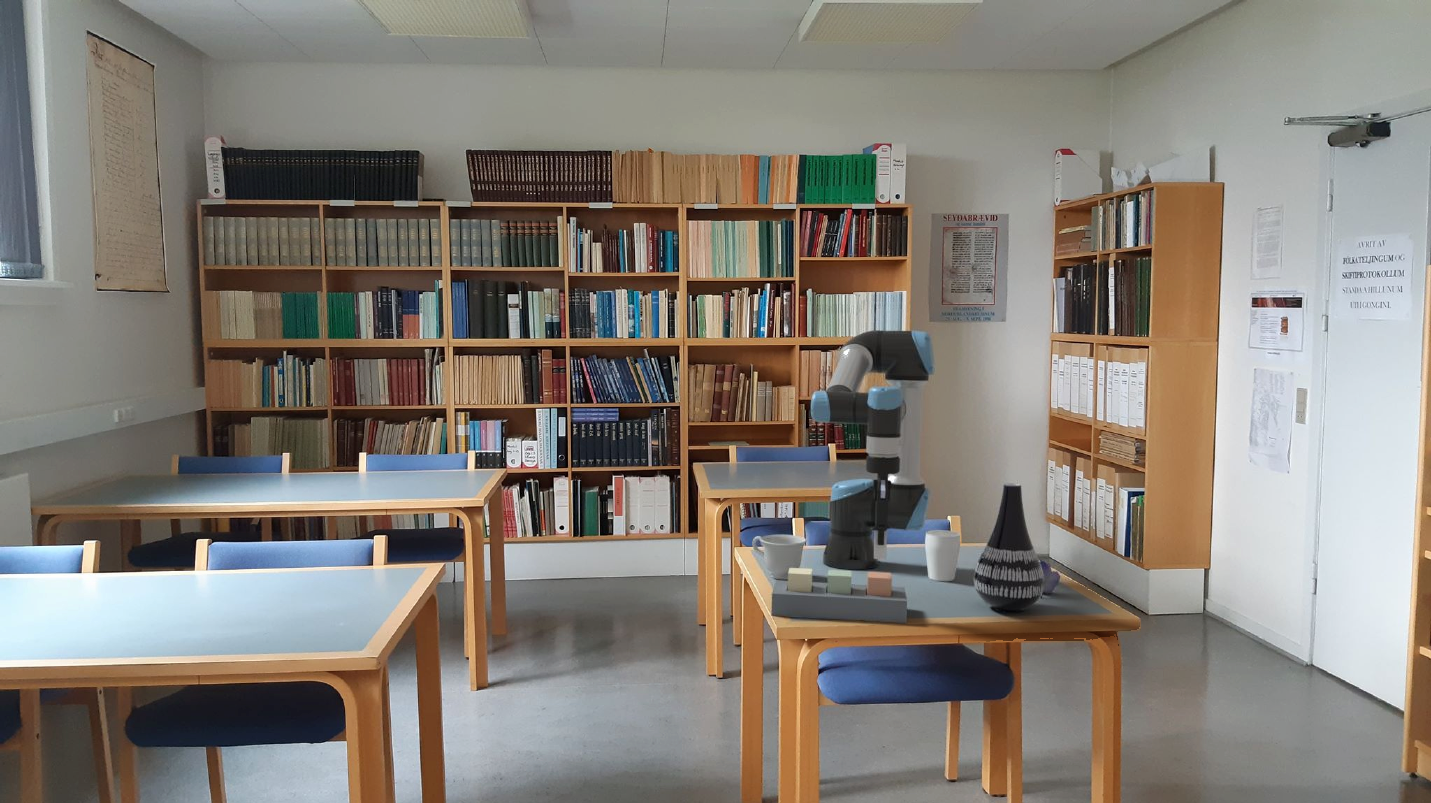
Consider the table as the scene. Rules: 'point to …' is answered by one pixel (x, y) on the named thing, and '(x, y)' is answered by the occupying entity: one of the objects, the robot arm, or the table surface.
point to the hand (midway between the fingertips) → (879, 558)
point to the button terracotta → (879, 584)
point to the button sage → (839, 582)
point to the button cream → (800, 580)
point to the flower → (1049, 578)
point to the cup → (942, 554)
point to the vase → (1009, 559)
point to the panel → (839, 603)
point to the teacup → (780, 553)
